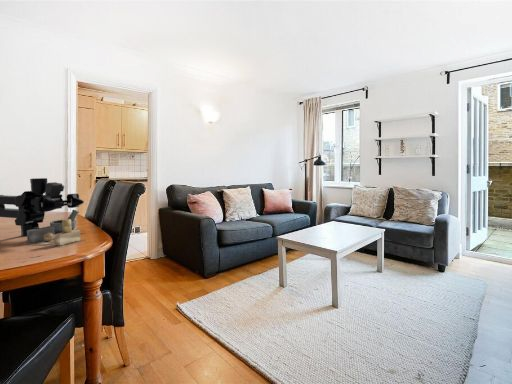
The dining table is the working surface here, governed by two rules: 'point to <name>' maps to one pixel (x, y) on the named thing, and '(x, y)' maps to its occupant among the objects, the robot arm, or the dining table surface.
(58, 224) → the mortar and pestle
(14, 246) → the dining table surface
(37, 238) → the base
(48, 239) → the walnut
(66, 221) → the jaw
